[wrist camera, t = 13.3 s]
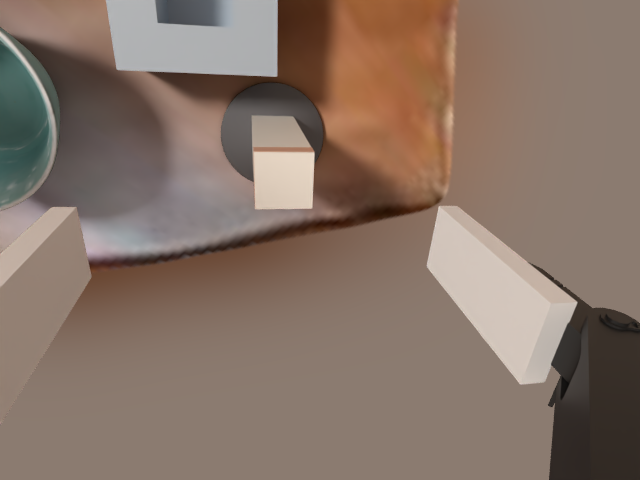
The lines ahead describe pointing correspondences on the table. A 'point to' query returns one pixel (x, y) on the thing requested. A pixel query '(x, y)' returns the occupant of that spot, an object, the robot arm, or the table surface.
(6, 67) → the bowl
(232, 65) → the socket block
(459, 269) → the robot arm
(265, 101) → the coaster
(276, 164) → the plug
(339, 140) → the table surface
